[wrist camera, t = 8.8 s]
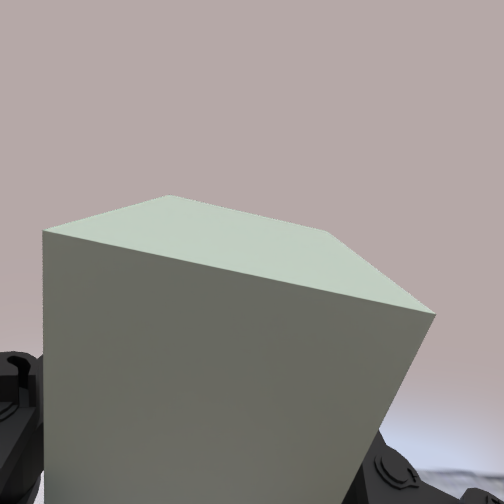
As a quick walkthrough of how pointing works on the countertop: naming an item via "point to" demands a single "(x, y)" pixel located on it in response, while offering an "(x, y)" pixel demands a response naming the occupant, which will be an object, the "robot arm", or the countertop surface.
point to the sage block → (214, 357)
